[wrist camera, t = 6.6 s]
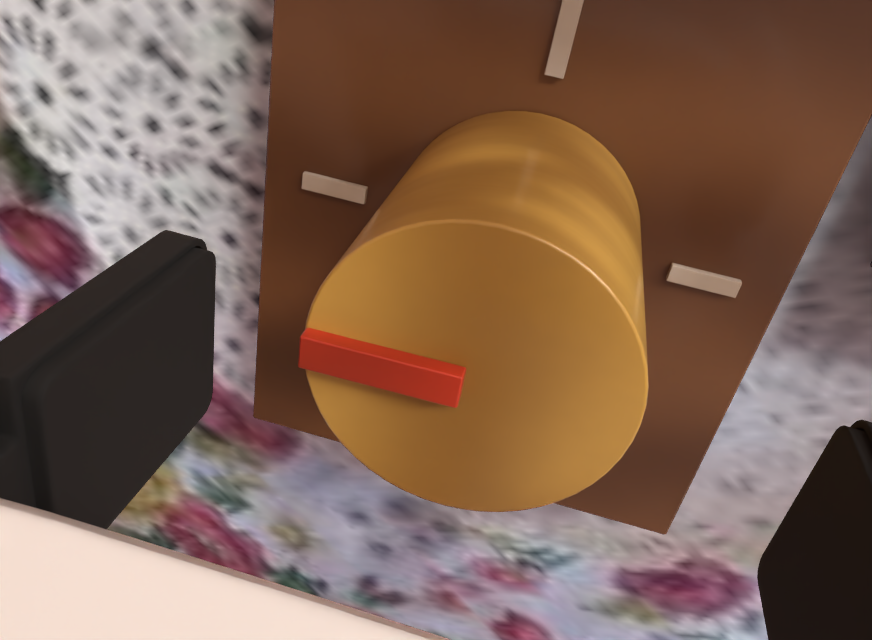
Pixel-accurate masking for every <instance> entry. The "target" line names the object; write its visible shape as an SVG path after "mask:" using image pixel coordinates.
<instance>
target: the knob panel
mask: <svg viewBox="0 0 872 640" xmlns="http://www.w3.org/2000/svg"><path fill="white" fill-rule="evenodd" d="M502 111H527V112H534V113H541V114H545V115H548V116H552V117H555V118H559V119H561V120H563V121H566V122H568V123H570V124H573V125H575V126H577V127H578V128H580V129H582V130H583V131H585V132H587V133H588V134H590V135H591V136H592V137H594V138H595V139H596V140H597V141H599V142H600V143H601V144H602V145H603V146H604V147H605V148H606V149H607V150H608V151H609V152H610V153H611V154H612V155H613V156H614V157H615V159H616V160H617V161H618V163H619V164H620V166H621V167H622V168H623V170H624V171H625V173H626V175H627V177H628V179H629V181H630V183H631V185H632V188H633V190H634V193H635V196H636V199H637V203H638V208H639V213H640V226H641V245H642V265H643V284H644V304H645V323H646V342H647V362H648V384H649V388H648V396H647V404H646V409H645V412H644V416H643V419H642V422H641V425H640V427H639V430H638V432H637V434H636V436H635V438H634V440H633V442H632V443H631V445H630V446H629V448H628V449H627V451H626V452H625V453H624V455H623V456H622V458H621V459H620V460H619V461H618V462H617V463H616V464H615V465H614V466H613V467H612V468H611V469H610V470H609V472H607V473H606V474H605V475H604V476H602V477H601V478H600V479H599V480H597V481H596V482H595V483H594V484H592V485H590V486H589V487H587V488H585V489H584V490H582V491H580V492H579V493H577V494H575V495H572V496H570V497H568V498H565V499H563V500H561V501H558V502H555V504H559V505H562V506H566V507H569V508H573V509H576V510H580V511H583V512H587V513H590V514H594V515H597V516H601V517H605V518H608V519H612V520H615V521H619V522H622V523H626V524H629V525H633V526H636V527H640V528H643V529H647V530H650V531H654V532H657V533H661V534H666V533H667V531H668V529H669V527H670V525H671V523H672V521H673V519H674V517H675V515H676V513H677V511H678V509H679V507H680V505H681V503H682V501H683V499H684V497H685V495H686V493H687V491H688V489H689V487H690V485H691V482H692V480H693V478H694V476H695V474H696V472H697V470H698V468H699V466H700V464H701V462H702V460H703V458H704V456H705V454H706V452H707V450H708V448H709V446H710V444H711V442H712V440H713V438H714V436H715V434H716V432H717V429H718V427H719V425H720V423H721V421H722V419H723V417H724V415H725V413H726V411H727V409H728V407H729V405H730V403H731V401H732V399H733V397H734V395H735V393H736V391H737V389H738V387H739V385H740V383H741V381H742V378H743V376H744V374H745V372H746V370H747V368H748V366H749V364H750V362H751V360H752V358H753V356H754V354H755V352H756V350H757V348H758V346H759V344H760V342H761V340H762V338H763V336H764V334H765V332H766V330H767V328H768V325H769V323H770V321H771V319H772V317H773V315H774V313H775V311H776V309H777V307H778V305H779V303H780V301H781V299H782V297H783V295H784V293H785V291H786V289H787V287H788V285H789V283H790V281H791V279H792V277H793V274H794V272H795V270H796V268H797V266H798V264H799V262H800V260H801V258H802V256H803V254H804V252H805V250H806V248H807V246H808V244H809V242H810V240H811V238H812V236H813V234H814V232H815V230H816V228H817V226H818V224H819V221H820V219H821V217H822V215H823V213H824V211H825V209H826V207H827V205H828V203H829V201H830V199H831V197H832V195H833V193H834V191H835V189H836V187H837V185H838V183H839V181H840V179H841V177H842V175H843V173H844V170H845V168H846V166H847V164H848V162H849V160H850V158H851V156H852V154H853V152H854V150H855V148H856V146H857V144H858V142H859V140H860V138H861V136H862V134H863V132H864V130H865V128H866V126H867V124H868V122H869V120H870V117H871V115H872V0H274V17H273V37H272V56H271V76H270V96H269V116H268V136H267V156H266V176H265V196H264V215H263V235H262V255H261V275H260V295H259V315H258V335H257V354H256V374H255V394H254V414H253V416H254V418H257V419H260V420H264V421H267V422H271V423H274V424H278V425H281V426H285V427H289V428H292V429H296V430H299V431H303V432H306V433H310V434H313V435H317V436H320V437H324V438H327V439H331V440H334V441H338V442H340V441H339V439H338V438H337V437H336V436H335V434H334V433H333V432H332V430H331V429H330V428H329V426H328V425H327V423H326V421H325V420H324V418H323V416H322V415H321V413H320V411H319V409H318V407H317V405H316V402H315V400H314V398H313V396H312V393H311V389H310V386H309V383H308V379H307V375H306V369H302V368H299V367H298V358H299V342H300V336H301V335H302V333H303V332H304V331H305V327H306V320H307V317H308V314H309V311H310V307H311V304H312V302H313V300H314V298H315V296H316V294H317V292H318V290H319V288H320V286H321V284H322V283H323V282H324V280H325V279H326V277H327V276H328V275H329V273H330V272H331V271H332V269H333V268H334V267H335V265H336V264H337V263H338V261H339V260H340V259H341V257H342V256H343V255H344V253H345V252H346V251H347V250H348V248H349V247H350V246H351V244H352V243H353V242H354V240H355V239H356V238H357V236H358V235H359V234H360V232H361V231H362V230H363V228H364V227H365V226H366V225H367V223H368V222H369V221H370V219H371V218H372V217H373V215H374V214H375V213H376V211H377V210H378V209H379V207H380V206H381V205H382V204H383V202H384V201H385V200H386V198H387V197H388V196H389V194H390V193H391V192H392V190H393V189H394V188H395V186H396V185H397V184H398V183H399V181H400V180H401V179H402V177H403V176H404V175H405V173H406V172H407V171H408V169H409V168H410V167H411V165H412V164H413V163H414V162H415V160H416V159H417V158H418V156H419V155H420V154H421V152H422V151H423V150H424V149H425V148H426V147H427V146H428V145H429V144H430V143H431V142H432V141H433V140H434V139H436V138H437V137H438V136H440V135H441V134H442V133H443V132H445V131H446V130H448V129H450V128H452V127H453V126H455V125H457V124H459V123H461V122H463V121H466V120H468V119H471V118H473V117H477V116H480V115H484V114H488V113H494V112H502Z"/></svg>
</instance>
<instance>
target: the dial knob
mask: <svg viewBox="0 0 872 640" xmlns="http://www.w3.org/2000/svg"><path fill="white" fill-rule="evenodd" d="M298 367H299V368H302V369H306V375H307V379H308V383H309V386H310V389H311V393H312V396H313V398H314V400H315V402H316V405H317V407H318V409H319V411H320V413H321V415H322V416H323V418H324V420H325V421H326V423H327V425H328V426H329V428H330V429H331V430H332V432H333V433H334V434H335V436H336V437H337V438H338V439H339V441H340V442H341V443H342V444H343V445H344V446H345V447H346V448H347V449H348V450H349V452H350V453H351V454H352V455H353V456H354V457H355V458H357V459H358V460H359V461H360V462H361V463H363V464H364V465H365V466H366V467H367V468H368V469H370V470H371V471H373V472H374V473H376V474H377V475H378V476H380V477H381V478H383V479H384V480H386V481H388V482H389V483H391V484H393V485H395V486H397V487H398V488H400V489H402V490H404V491H406V492H409V493H411V494H413V495H416V496H418V497H420V498H423V499H426V500H429V501H432V502H435V503H438V504H441V505H446V506H450V507H455V508H459V509H466V510H474V511H485V512H507V511H520V510H526V509H531V508H537V507H542V506H545V505H548V504H552V503H555V502H558V501H561V500H563V499H565V498H568V497H570V496H572V495H575V494H577V493H579V492H580V491H582V490H584V489H585V488H587V487H589V486H590V485H592V484H594V483H595V482H596V481H597V480H599V479H600V478H601V477H602V476H604V475H605V474H606V473H607V472H609V470H610V469H611V468H612V467H613V466H614V465H615V464H616V463H617V462H618V461H619V460H620V459H621V458H622V456H623V455H624V453H625V452H626V451H627V449H628V448H629V446H630V445H631V443H632V442H633V440H634V438H635V436H636V434H637V432H638V430H639V427H640V425H641V422H642V419H643V416H644V412H645V409H646V404H647V396H648V388H649V384H648V362H647V342H646V323H645V304H644V284H643V265H642V245H641V226H640V213H639V208H638V203H637V199H636V196H635V193H634V190H633V188H632V185H631V183H630V181H629V179H628V177H627V175H626V173H625V171H624V170H623V168H622V167H621V166H620V164H619V163H618V161H617V160H616V159H615V157H614V156H613V155H612V154H611V153H610V152H609V151H608V150H607V149H606V148H605V147H604V146H603V145H602V144H601V143H600V142H599V141H597V140H596V139H595V138H594V137H592V136H591V135H590V134H588V133H587V132H585V131H583V130H582V129H580V128H578V127H577V126H575V125H573V124H570V123H568V122H566V121H563V120H561V119H559V118H555V117H552V116H548V115H545V114H541V113H534V112H527V111H502V112H494V113H488V114H484V115H480V116H477V117H473V118H471V119H468V120H466V121H463V122H461V123H459V124H457V125H455V126H453V127H452V128H450V129H448V130H446V131H445V132H443V133H442V134H441V135H440V136H438V137H437V138H436V139H434V140H433V141H432V142H431V143H430V144H429V145H428V146H427V147H426V148H425V149H424V150H423V151H422V152H421V154H420V155H419V156H418V158H417V159H416V160H415V162H414V163H413V164H412V165H411V167H410V168H409V169H408V171H407V172H406V173H405V175H404V176H403V177H402V179H401V180H400V181H399V183H398V184H397V185H396V186H395V188H394V189H393V190H392V192H391V193H390V194H389V196H388V197H387V198H386V200H385V201H384V202H383V204H382V205H381V206H380V207H379V209H378V210H377V211H376V213H375V214H374V215H373V217H372V218H371V219H370V221H369V222H368V223H367V225H366V226H365V227H364V228H363V230H362V231H361V232H360V234H359V235H358V236H357V238H356V239H355V240H354V242H353V243H352V244H351V246H350V247H349V248H348V250H347V251H346V252H345V253H344V255H343V256H342V257H341V259H340V260H339V261H338V263H337V264H336V265H335V267H334V268H333V269H332V271H331V272H330V273H329V275H328V276H327V277H326V279H325V280H324V282H323V283H322V284H321V286H320V288H319V290H318V292H317V294H316V296H315V298H314V300H313V302H312V304H311V307H310V311H309V314H308V317H307V320H306V327H305V331H304V332H303V333H302V335H301V336H300V342H299V358H298Z"/></svg>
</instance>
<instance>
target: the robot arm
mask: <svg viewBox="0 0 872 640" xmlns="http://www.w3.org/2000/svg"><path fill="white" fill-rule="evenodd" d="M215 275H216V259H215V255H214V254H213V252H210V251H207V247H206V244H205V242H204V241H203V240H202V239H198V238H194V237H191V236H187V235H183V234H180V233H176V232H173V231H168V230H165V231H163V232H161V233H159V234H158V235H156V236H155V237H153V238H152V239H150V240H149V241H147V242H146V243H144V244H143V245H142V246H140V247H139V248H137V249H136V250H134V251H133V252H131V253H130V254H128V255H127V256H125V257H124V258H122V259H121V260H119V261H118V262H116V263H115V264H114V265H112V266H111V267H109V268H108V269H106V270H105V271H103V272H102V273H100V274H99V275H97V276H96V277H94V278H93V279H91V280H90V281H89V282H87V283H86V284H84V285H83V286H81V287H80V288H78V289H77V290H75V291H74V292H72V293H71V294H69V295H68V296H66V297H65V298H63V299H62V300H61V301H59V302H58V303H56V304H55V305H53V306H52V307H50V308H49V309H47V310H46V311H44V312H43V313H41V314H40V315H38V316H37V317H36V318H34V319H33V320H31V321H30V322H28V323H27V324H25V325H24V326H22V327H21V328H19V329H18V330H16V331H15V332H13V333H12V334H10V335H9V336H8V337H6V338H5V339H3V340H2V341H0V640H450V639H447V638H444V637H441V636H438V635H435V634H432V633H429V632H426V631H423V630H420V629H417V628H414V627H410V626H407V625H404V624H401V623H398V622H395V621H392V620H389V619H386V618H383V617H380V616H376V615H373V614H370V613H367V612H364V611H361V610H358V609H355V608H352V607H349V606H346V605H342V604H339V603H336V602H333V601H330V600H327V599H324V598H321V597H318V596H315V595H312V594H308V593H305V592H302V591H299V590H296V589H293V588H290V587H286V586H283V585H280V584H277V583H274V582H271V581H268V580H264V579H261V578H258V577H255V576H252V575H249V574H246V573H242V572H239V571H236V570H233V569H230V568H227V567H224V566H221V565H217V564H214V563H211V562H208V561H205V560H202V559H199V558H195V557H192V556H189V555H186V554H183V553H180V552H177V551H173V550H170V549H167V548H164V547H161V546H158V545H155V544H151V543H148V542H145V541H142V540H139V539H136V538H133V537H129V536H126V535H123V534H120V533H116V532H113V531H110V530H107V528H108V527H109V526H110V524H111V523H112V522H113V521H114V520H115V519H116V517H117V516H118V515H119V514H120V513H121V511H122V510H123V509H124V508H125V507H126V506H127V504H128V503H129V502H130V501H131V500H132V499H133V497H134V496H135V495H136V494H137V493H138V492H139V490H140V489H141V488H142V487H143V486H144V485H145V483H146V482H147V481H148V480H149V479H150V478H151V476H152V475H153V474H154V473H155V472H156V470H157V469H158V468H159V467H160V466H161V465H162V463H163V462H164V461H165V460H166V459H167V458H168V456H169V455H170V454H171V453H172V452H173V451H174V449H175V448H176V447H177V446H178V445H179V444H180V442H181V441H182V440H183V439H184V438H185V437H186V435H187V434H188V433H189V432H190V431H191V429H192V428H193V427H194V426H195V425H196V424H197V422H198V421H199V420H200V419H201V418H202V417H203V415H204V414H205V413H206V411H207V409H208V407H209V405H210V402H211V398H212V393H213V358H214V317H215ZM757 578H758V586H759V591H760V597H761V602H762V607H763V613H764V618H765V624H766V629H767V635H768V640H872V422H868V421H864V420H859V421H856V422H855V423H854V424H853V425H852V426H851V427H847V426H840V427H839V428H838V429H837V430H836V431H835V433H834V434H833V436H832V437H831V439H830V441H829V443H828V444H827V446H826V448H825V449H824V451H823V453H822V454H821V456H820V458H819V460H818V461H817V463H816V465H815V466H814V468H813V470H812V471H811V473H810V475H809V477H808V478H807V480H806V482H805V483H804V485H803V487H802V489H801V490H800V492H799V494H798V495H797V497H796V499H795V500H794V502H793V504H792V506H791V507H790V509H789V511H788V512H787V514H786V516H785V518H784V519H783V521H782V523H781V524H780V526H779V528H778V529H777V531H776V533H775V535H774V536H773V538H772V540H771V541H770V543H769V545H768V546H767V548H766V550H765V552H764V553H763V555H762V557H761V560H760V563H759V567H758V577H757Z"/></svg>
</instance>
